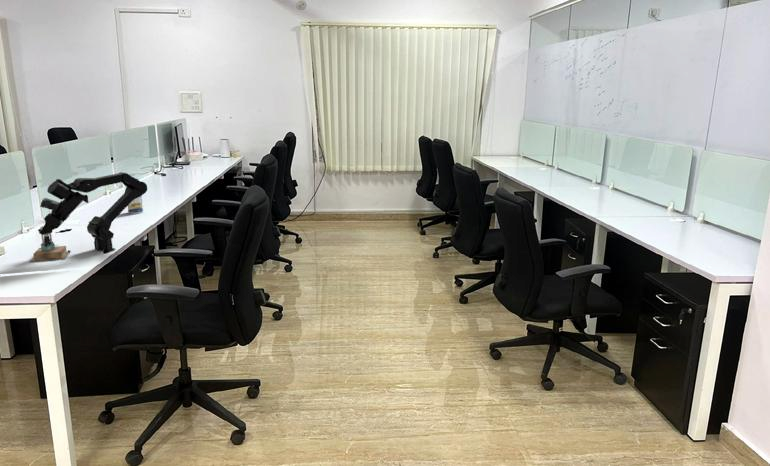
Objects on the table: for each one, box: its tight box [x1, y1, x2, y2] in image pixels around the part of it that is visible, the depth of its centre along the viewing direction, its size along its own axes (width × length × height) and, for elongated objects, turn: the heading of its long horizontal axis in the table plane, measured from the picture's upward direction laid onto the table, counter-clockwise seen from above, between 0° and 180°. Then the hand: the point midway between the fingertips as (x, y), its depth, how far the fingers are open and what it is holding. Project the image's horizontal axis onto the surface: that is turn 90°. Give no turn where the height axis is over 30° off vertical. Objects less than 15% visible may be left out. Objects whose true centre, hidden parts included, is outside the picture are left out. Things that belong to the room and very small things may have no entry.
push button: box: [37, 225, 58, 251], centre depth 231 cm, size 7×5×10 cm
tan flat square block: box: [33, 245, 68, 261], centre depth 232 cm, size 10×10×3 cm
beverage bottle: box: [127, 177, 144, 215], centre depth 322 cm, size 8×8×20 cm
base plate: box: [29, 249, 72, 263], centre depth 233 cm, size 13×13×2 cm
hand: (43, 231), depth 229 cm, fingers open, 8 cm apart
